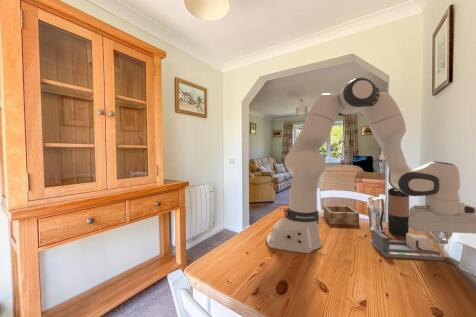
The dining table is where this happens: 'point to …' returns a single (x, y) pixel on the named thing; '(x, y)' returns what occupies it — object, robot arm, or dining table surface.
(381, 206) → the beer glass
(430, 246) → the block
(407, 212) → the travel mug
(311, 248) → the robot arm
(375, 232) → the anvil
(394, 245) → the gauge board
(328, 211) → the tray
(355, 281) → the dining table surface
